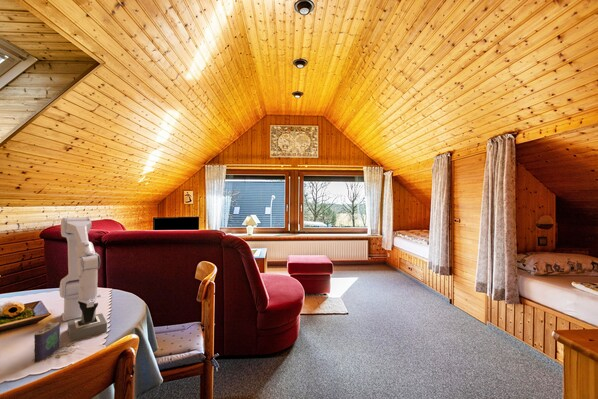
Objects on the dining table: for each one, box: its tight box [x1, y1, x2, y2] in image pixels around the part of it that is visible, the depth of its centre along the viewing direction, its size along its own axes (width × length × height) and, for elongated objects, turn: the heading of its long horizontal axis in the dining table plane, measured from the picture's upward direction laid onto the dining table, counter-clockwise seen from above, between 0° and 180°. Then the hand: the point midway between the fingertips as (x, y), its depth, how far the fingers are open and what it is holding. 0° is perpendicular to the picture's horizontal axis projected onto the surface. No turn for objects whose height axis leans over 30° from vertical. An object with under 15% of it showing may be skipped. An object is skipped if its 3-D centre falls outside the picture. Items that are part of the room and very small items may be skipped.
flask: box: [33, 321, 61, 363], centre depth 89 cm, size 9×3×11 cm, turn 8°
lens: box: [80, 308, 97, 326], centre depth 105 cm, size 4×4×7 cm
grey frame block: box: [67, 312, 108, 343], centre depth 105 cm, size 12×11×4 cm
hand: (87, 319), depth 105 cm, fingers closed on lens, 4 cm apart
